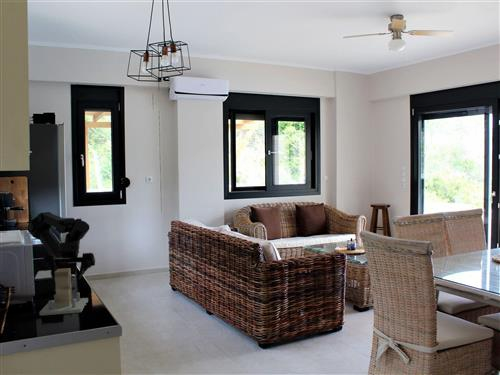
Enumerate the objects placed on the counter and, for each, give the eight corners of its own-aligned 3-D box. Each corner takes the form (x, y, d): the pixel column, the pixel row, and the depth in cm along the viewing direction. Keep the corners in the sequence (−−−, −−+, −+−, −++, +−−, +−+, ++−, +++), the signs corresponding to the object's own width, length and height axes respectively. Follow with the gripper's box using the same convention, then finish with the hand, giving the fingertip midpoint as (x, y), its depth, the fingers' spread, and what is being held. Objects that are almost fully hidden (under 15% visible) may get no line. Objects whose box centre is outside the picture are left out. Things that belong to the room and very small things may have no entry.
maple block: (59, 303, 178) (57, 269, 177) (72, 302, 179) (70, 268, 178) (56, 307, 174) (54, 271, 173) (69, 306, 174) (67, 271, 174)
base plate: (50, 303, 182) (49, 292, 182) (88, 300, 184) (87, 290, 184) (39, 315, 168) (38, 303, 168) (80, 312, 170) (80, 300, 170)
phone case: (54, 280, 221) (57, 272, 236) (53, 277, 221) (57, 269, 236) (33, 282, 218) (37, 274, 234) (33, 279, 218) (37, 271, 234)
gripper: (42, 235, 185) (35, 269, 174) (92, 232, 187) (88, 266, 177) (49, 251, 193) (43, 285, 183) (96, 248, 195) (93, 281, 185)
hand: (66, 279), depth 182 cm, fingers open, 9 cm apart
